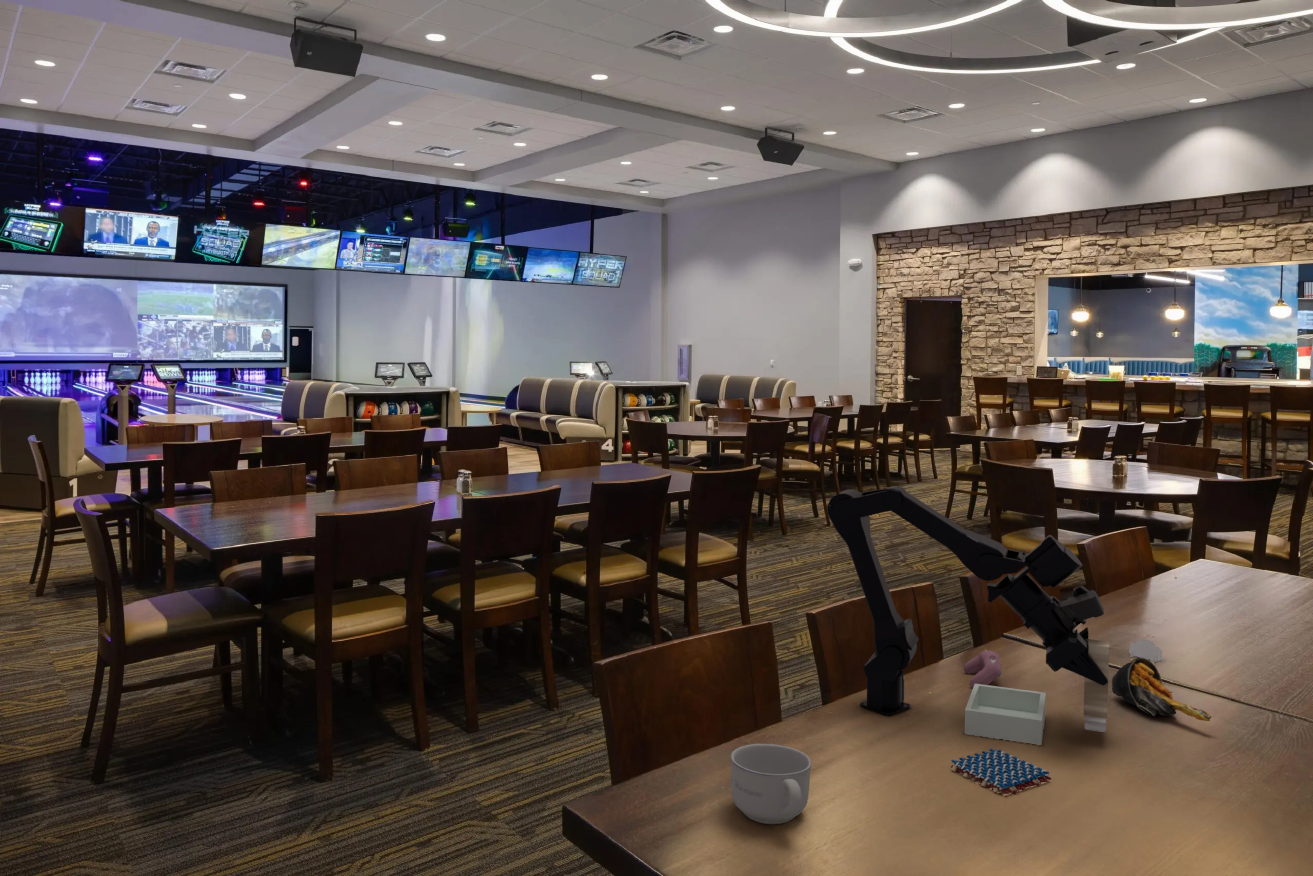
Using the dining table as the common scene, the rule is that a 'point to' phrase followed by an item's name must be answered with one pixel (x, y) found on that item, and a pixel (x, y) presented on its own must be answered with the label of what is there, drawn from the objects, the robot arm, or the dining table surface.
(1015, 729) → the box
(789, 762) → the teacup
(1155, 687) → the fried shrimp in bowl
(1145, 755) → the dining table surface
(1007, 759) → the woven mat
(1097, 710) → the plate
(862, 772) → the dining table surface
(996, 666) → the video game controller
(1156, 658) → the car cutout
